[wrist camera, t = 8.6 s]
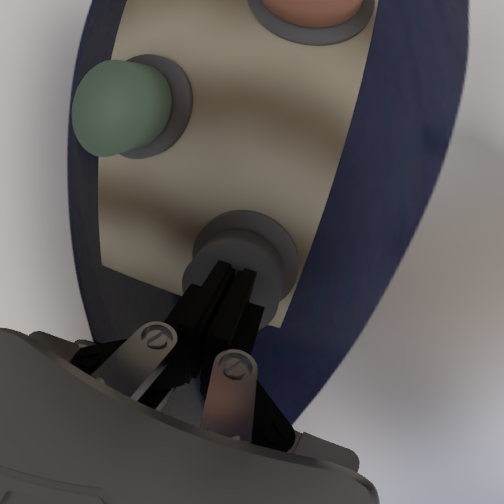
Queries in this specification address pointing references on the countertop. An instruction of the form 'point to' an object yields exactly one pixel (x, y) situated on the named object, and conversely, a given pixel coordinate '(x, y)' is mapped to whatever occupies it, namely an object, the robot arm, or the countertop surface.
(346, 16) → the terracotta button
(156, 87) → the green button
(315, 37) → the button panel
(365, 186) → the countertop surface
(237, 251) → the charcoal button
